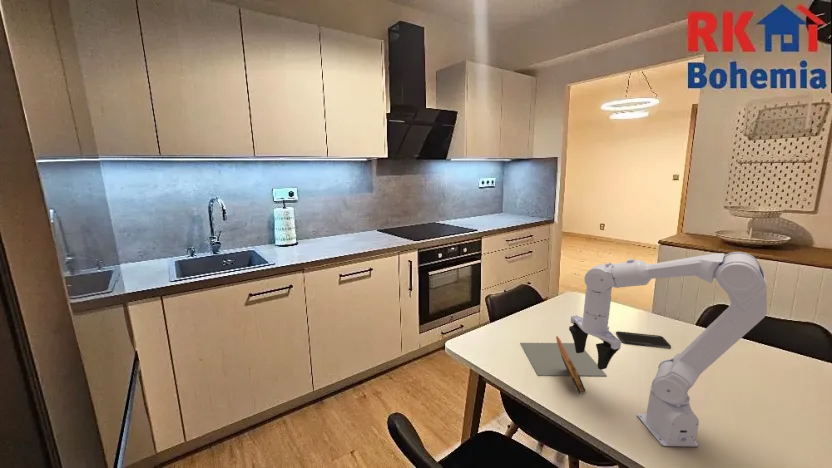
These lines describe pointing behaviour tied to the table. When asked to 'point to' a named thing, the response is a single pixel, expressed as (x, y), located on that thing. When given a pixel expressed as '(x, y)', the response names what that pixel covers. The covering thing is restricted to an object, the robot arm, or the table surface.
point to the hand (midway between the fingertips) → (590, 359)
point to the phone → (643, 340)
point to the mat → (559, 360)
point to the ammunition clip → (570, 367)
